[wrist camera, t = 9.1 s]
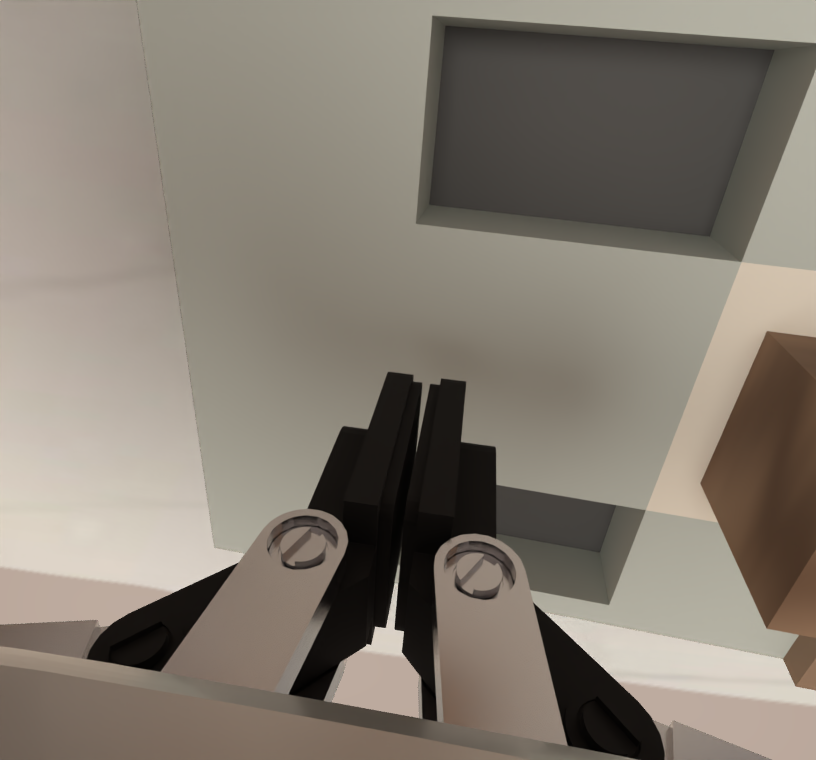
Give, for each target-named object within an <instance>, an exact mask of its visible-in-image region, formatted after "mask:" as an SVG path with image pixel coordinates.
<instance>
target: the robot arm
mask: <svg viewBox="0 0 816 760" xmlns="http://www.w3.org/2000/svg"><path fill="white" fill-rule="evenodd" d="M413 380H414V376H413V375H412V374H404V373H396V372H388V373H387V375H386V378H385V381H384V384H383V387H382V390H381V393H380V395H379V398H378V401H377V404H376V407H375V410H374V413H373V416H372V419H371V421H370V424H369V427H368V429H363V428H355V427H348V426H343V427H342V428H341V430H340V432H339V434H338V437H337V439H336V442H335V444H334V446H333V449H332V451H331V453H330V456H329V458H328V461H327V463H326V465H325V468H324V470H323V473H322V475H321V477H320V480H319V482H318V484H317V487H316V489H315V492H314V494H313V496H312V499H311V501H310V503H309V506H308V508H307V509H300V510H294V511H290V512H287V513H284V514H282V515H280V516H278V517H276V518H275V519H273V520H271V521H270V522H269V523H268V524H267V525H266V526H265V527H264V529H263V530H262V531H261V532H260V534H259V535H258V537H257V538H256V539H255V541H254V542H253V543H252V545H251V546H250V548H249V549H248V550H247V552H246V553H245V555H244V556H243V557H242V559H241V560H240V562H239V563H237V564H235V565H232V566H230V567H228V568H226V569H224V570H222V571H220V572H217V573H215V574H213V575H211V576H209V577H207V578H204V579H202V580H200V581H198V582H196V583H194V584H192V585H189V586H187V587H185V588H183V589H181V590H179V591H176V592H174V593H172V594H170V595H168V596H166V597H164V598H161V599H159V600H157V601H155V602H153V603H151V604H148V605H146V606H144V607H142V608H140V609H138V610H136V611H133V612H131V613H129V614H127V615H126V616H124V617H122V618H121V619H119V620H117V621H116V622H114V623H113V624H112V625H110V626H106V627H100V625H99V622H98V620H87V621H67V622H47V623H27V624H7V625H0V760H771V759H769V758H766V757H764V756H761V755H759V754H756V753H754V752H751V751H749V750H746V749H744V748H741V747H739V746H736V745H734V744H731V743H729V742H726V741H723V740H721V739H718V738H716V737H714V736H711V735H709V734H706V733H703V732H701V731H699V730H696V729H693V728H691V727H688V726H686V725H683V724H681V723H678V722H676V721H672V722H671V724H670V726H666V725H664V724H661V723H659V722H656V721H654V720H652V718H651V716H650V715H649V714H648V713H647V712H646V710H645V709H644V708H643V707H642V706H641V704H640V703H639V702H638V701H637V700H636V699H635V698H634V697H633V696H632V695H631V694H630V693H628V692H627V691H626V690H625V689H624V688H623V687H622V686H621V685H620V684H619V683H618V682H617V681H616V680H615V679H614V678H613V677H612V676H611V675H609V674H608V673H607V672H606V671H605V670H604V669H603V668H602V667H601V666H600V665H599V664H598V663H597V662H596V661H595V660H594V659H593V658H592V657H591V656H589V655H588V654H587V653H586V652H585V651H584V650H583V649H582V648H581V647H580V646H579V645H578V644H577V643H576V642H575V641H574V640H573V639H572V638H570V637H569V636H568V635H567V634H566V633H565V632H564V631H563V630H562V629H561V628H560V627H559V626H558V625H557V624H556V623H555V622H554V621H553V620H551V619H550V618H549V617H548V616H547V615H546V614H545V613H544V612H543V611H542V610H541V609H540V608H539V607H538V606H537V605H536V604H535V603H534V602H533V600H532V596H531V592H530V587H529V583H528V579H527V575H526V571H525V568H524V566H523V564H522V561H521V559H520V558H519V557H518V555H517V554H516V553H515V552H514V551H513V549H511V548H510V547H509V546H507V545H506V544H504V543H503V542H502V541H500V540H497V539H496V447H494V446H487V445H480V444H473V443H465V442H461V436H462V425H463V414H464V403H465V392H466V381H459V380H451V379H443V378H441V382H440V385H437V384H430V387H429V392H428V397H427V402H426V407H425V412H424V417H423V422H422V427H421V432H420V437H419V442H418V446H417V439H418V428H419V417H420V407H421V396H422V382H414V381H413ZM416 450H417V451H416ZM400 552H401V559H400V571H399V583H398V594H397V606H396V618H395V630H400V631H404V638H403V648H402V653H403V654H404V655H405V657H406V658H407V659H408V661H409V662H410V663H411V665H412V666H413V667H414V669H415V670H416V671H417V672H418V673H419V683H418V696H419V697H418V698H419V718H414V717H409V716H404V715H398V714H393V713H387V712H381V711H376V710H371V709H365V708H359V707H354V706H348V705H343V704H338V703H332V700H333V697H334V695H335V692H336V690H337V687H338V685H339V683H340V680H341V678H342V675H343V673H344V669H345V665H346V661H347V658H348V657H349V656H351V655H352V654H354V653H356V652H357V651H359V650H360V649H362V648H363V647H365V646H366V644H369V645H371V643H372V638H373V634H374V629H375V626H376V627H382V628H386V624H387V619H388V614H389V609H390V604H391V599H392V593H393V588H394V583H395V578H396V573H397V568H398V562H399V557H400Z"/></svg>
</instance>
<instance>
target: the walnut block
mask: <svg viewBox="0 0 816 760" xmlns="http://www.w3.org/2000/svg"><path fill="white" fill-rule="evenodd" d="M700 484H701V486H702V488H703V490H704V493H705V495H706V497H707V499H708V501H709V504H710V506H711V508H712V510H713V512H714V515H715V517H716V519H717V521H718V523H719V526H720V528H721V530H722V532H723V534H724V537H725V539H726V541H727V543H728V545H729V548H730V550H731V552H732V554H733V556H734V558H735V561H736V563H737V565H738V567H739V569H740V572H741V574H742V576H743V578H744V580H745V583H746V585H747V587H748V589H749V591H750V594H751V596H752V598H753V600H754V602H755V605H756V607H757V609H758V611H759V613H760V616H761V618H762V620H763V622H764V624H765V626H766V629H771V630H776V631H781V632H787V633H792V634H797V635H802V636H808V637H813V638H816V337H809V336H801V335H794V334H786V333H778V332H771V331H767V332H766V334H765V337H764V339H763V341H762V344H761V346H760V348H759V350H758V353H757V355H756V357H755V360H754V362H753V364H752V366H751V369H750V371H749V373H748V375H747V378H746V380H745V382H744V385H743V387H742V389H741V391H740V394H739V396H738V398H737V401H736V403H735V405H734V407H733V410H732V412H731V414H730V417H729V419H728V421H727V423H726V426H725V428H724V430H723V433H722V435H721V437H720V439H719V442H718V444H717V446H716V449H715V451H714V453H713V455H712V458H711V460H710V462H709V465H708V467H707V469H706V471H705V474H704V476H703V478H702V480H701V483H700Z"/></svg>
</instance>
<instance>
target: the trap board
mask: <svg viewBox="0 0 816 760" xmlns="http://www.w3.org/2000/svg"><path fill="white" fill-rule="evenodd" d="M136 2H137V9H138V16H139V23H140V30H141V37H142V44H143V51H144V58H145V65H146V72H147V79H148V86H149V93H150V100H151V107H152V114H153V121H154V128H155V135H156V142H157V149H158V156H159V163H160V170H161V177H162V184H163V191H164V198H165V206H166V213H167V220H168V227H169V234H170V241H171V248H172V255H173V262H174V269H175V276H176V283H177V290H178V297H179V304H180V311H181V318H182V325H183V332H184V339H185V346H186V353H187V360H188V367H189V374H190V381H191V388H192V395H193V402H194V409H195V416H196V423H197V430H198V437H199V444H200V451H201V458H202V465H203V472H204V479H205V486H206V493H207V500H208V507H209V514H210V521H211V528H212V535H213V542H214V548H219V549H224V550H229V551H234V552H239V553H244V554H245V553H246V552H247V550H248V549H249V548H250V546H251V545H252V543H253V542H254V541H255V539H256V538H257V537H258V535H259V534H260V532H261V531H262V530H263V529H264V527H265V526H266V525H267V524H268V523H269V522H270V521H271V520H273V519H275V518H276V517H278V516H280V515H282V514H284V513H287V512H290V511H294V510H300V509H307V508H308V506H309V503H310V501H311V499H312V496H313V494H314V492H315V489H316V487H317V484H318V482H319V480H320V477H321V475H322V473H323V470H324V468H325V465H326V463H327V461H328V458H329V456H330V453H331V451H332V449H333V446H334V444H335V442H336V439H337V437H338V434H339V432H340V430H341V428H342V427H343V426H348V427H355V428H363V429H368V427H369V424H370V421H371V419H372V416H373V413H374V410H375V407H376V404H377V401H378V398H379V395H380V393H381V390H382V387H383V384H384V381H385V378H386V375H387V373H388V372H396V373H404V374H412V375H413V376H414V380H413V381H414V382H422V396H421V407H420V417H419V428H418V439H417V446H418V442H419V437H420V432H421V427H422V422H423V417H424V412H425V407H426V402H427V397H428V392H429V387H430V384H437V385H440V382H441V378H443V379H451V380H459V381H466V392H465V403H464V414H463V425H462V436H461V442H465V443H473V444H480V445H487V446H494V447H496V539H497V540H500V541H502V542H503V543H504V544H506V545H507V546H509V547H510V548H511V549H513V551H514V552H515V553H516V554H517V555H518V557H519V558H520V559H521V561H522V564H523V566H524V568H525V571H526V575H527V579H528V583H529V587H530V592H531V596H532V600H533V602H534V603H535V604H536V605H537V606H538V607H539V608H540V609H541V610H542V611H543V612H546V613H551V614H556V615H561V616H566V617H572V618H577V619H582V620H587V621H592V622H597V623H602V624H607V625H612V626H617V627H623V628H628V629H633V630H638V631H643V632H648V633H653V634H658V635H663V636H669V637H674V638H679V639H684V640H689V641H694V642H699V643H704V644H709V645H715V646H720V647H725V648H730V649H735V650H740V651H745V652H750V653H755V654H761V655H766V656H771V657H776V658H781V659H783V660H784V662H785V664H786V666H787V669H788V671H789V673H790V675H791V677H792V680H793V682H794V684H795V686H797V687H802V688H807V689H812V690H816V638H813V637H808V636H802V635H797V634H792V633H787V632H781V631H776V630H771V629H766V626H765V624H764V622H763V620H762V618H761V616H760V613H759V611H758V609H757V607H756V605H755V602H754V600H753V598H752V596H751V594H750V591H749V589H748V587H747V585H746V583H745V580H744V578H743V576H742V574H741V572H740V569H739V567H738V565H737V563H736V561H735V558H734V556H733V554H732V552H731V550H730V548H729V545H728V543H727V541H726V539H725V537H724V534H723V532H722V530H721V528H720V526H719V523H718V521H717V519H716V517H715V515H714V512H713V510H712V508H711V506H710V504H709V501H708V499H707V497H706V495H705V493H704V490H703V488H702V486H701V484H700V483H701V480H702V478H703V476H704V474H705V471H706V469H707V467H708V465H709V462H710V460H711V458H712V455H713V453H714V451H715V449H716V446H717V444H718V442H719V439H720V437H721V435H722V433H723V430H724V428H725V426H726V423H727V421H728V419H729V417H730V414H731V412H732V410H733V407H734V405H735V403H736V401H737V398H738V396H739V394H740V391H741V389H742V387H743V385H744V382H745V380H746V378H747V375H748V373H749V371H750V369H751V366H752V364H753V362H754V360H755V357H756V355H757V353H758V350H759V348H760V346H761V344H762V341H763V339H764V337H765V334H766V332H767V331H771V332H778V333H786V334H794V335H801V336H809V337H816V0H136ZM416 451H417V450H416ZM400 559H401V552H400V557H399V562H398V568H397V573H396V578H395V583H399V571H400Z"/></svg>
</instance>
